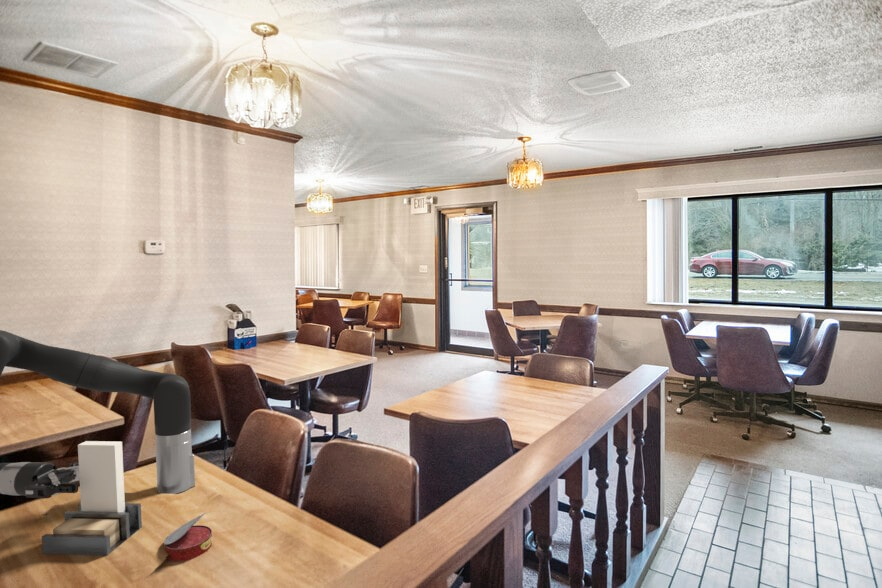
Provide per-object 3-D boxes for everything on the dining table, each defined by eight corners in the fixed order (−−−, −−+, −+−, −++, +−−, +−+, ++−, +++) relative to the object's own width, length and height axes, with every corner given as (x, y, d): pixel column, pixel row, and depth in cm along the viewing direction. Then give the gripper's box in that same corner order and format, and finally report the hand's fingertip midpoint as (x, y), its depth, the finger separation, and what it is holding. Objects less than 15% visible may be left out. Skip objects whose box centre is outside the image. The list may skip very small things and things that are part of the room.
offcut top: (53, 539, 110) (52, 528, 110) (69, 528, 114) (69, 518, 114) (104, 540, 109) (104, 530, 109) (119, 529, 114) (118, 519, 114)
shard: (71, 526, 124) (70, 519, 124) (33, 533, 121) (33, 526, 121) (82, 506, 134) (81, 500, 134) (47, 512, 130) (47, 506, 130)
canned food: (184, 581, 108) (162, 555, 104) (167, 559, 115) (145, 533, 110) (229, 540, 115) (210, 513, 111) (210, 521, 122) (191, 495, 117)
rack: (42, 560, 109) (41, 527, 108) (83, 531, 120) (81, 502, 120) (107, 561, 108) (106, 529, 108) (142, 532, 120) (140, 503, 119)
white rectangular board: (82, 534, 116) (77, 444, 115) (90, 529, 119) (85, 441, 117) (118, 535, 116) (114, 445, 114) (126, 529, 118) (122, 441, 117)
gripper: (-3, 476, 110) (66, 477, 109) (51, 451, 124) (112, 452, 123) (-1, 508, 110) (68, 509, 110) (52, 480, 125) (113, 481, 124)
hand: (91, 479), depth 117 cm, fingers open, 8 cm apart
